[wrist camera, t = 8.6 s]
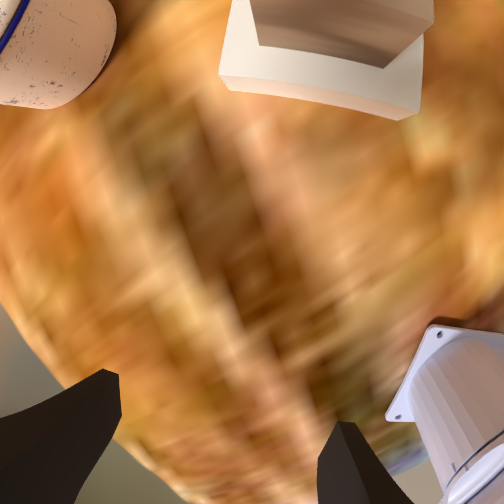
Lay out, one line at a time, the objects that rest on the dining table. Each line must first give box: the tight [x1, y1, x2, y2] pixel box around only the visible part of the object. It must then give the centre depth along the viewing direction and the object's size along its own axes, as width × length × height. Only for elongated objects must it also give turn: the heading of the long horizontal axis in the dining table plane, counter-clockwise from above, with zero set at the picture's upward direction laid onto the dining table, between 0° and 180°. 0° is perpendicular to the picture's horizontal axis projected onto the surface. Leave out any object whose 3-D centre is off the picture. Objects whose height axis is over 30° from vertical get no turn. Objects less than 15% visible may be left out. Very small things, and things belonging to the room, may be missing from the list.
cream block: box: [218, 0, 424, 121], centre depth 13 cm, size 9×9×4 cm
